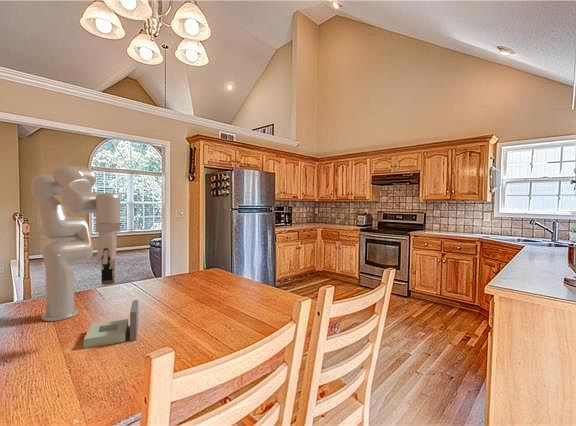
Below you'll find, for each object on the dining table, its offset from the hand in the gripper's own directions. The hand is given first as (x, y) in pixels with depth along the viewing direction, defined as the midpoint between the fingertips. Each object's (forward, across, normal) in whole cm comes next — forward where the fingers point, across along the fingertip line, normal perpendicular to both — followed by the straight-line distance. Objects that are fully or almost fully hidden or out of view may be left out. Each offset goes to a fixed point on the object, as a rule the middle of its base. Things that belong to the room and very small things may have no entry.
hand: (108, 278), depth 106 cm
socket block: (+21, 0, 0) cm, 21 cm away
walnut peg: (+2, 0, 0) cm, 2 cm away
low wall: (+21, 0, +8) cm, 23 cm away
